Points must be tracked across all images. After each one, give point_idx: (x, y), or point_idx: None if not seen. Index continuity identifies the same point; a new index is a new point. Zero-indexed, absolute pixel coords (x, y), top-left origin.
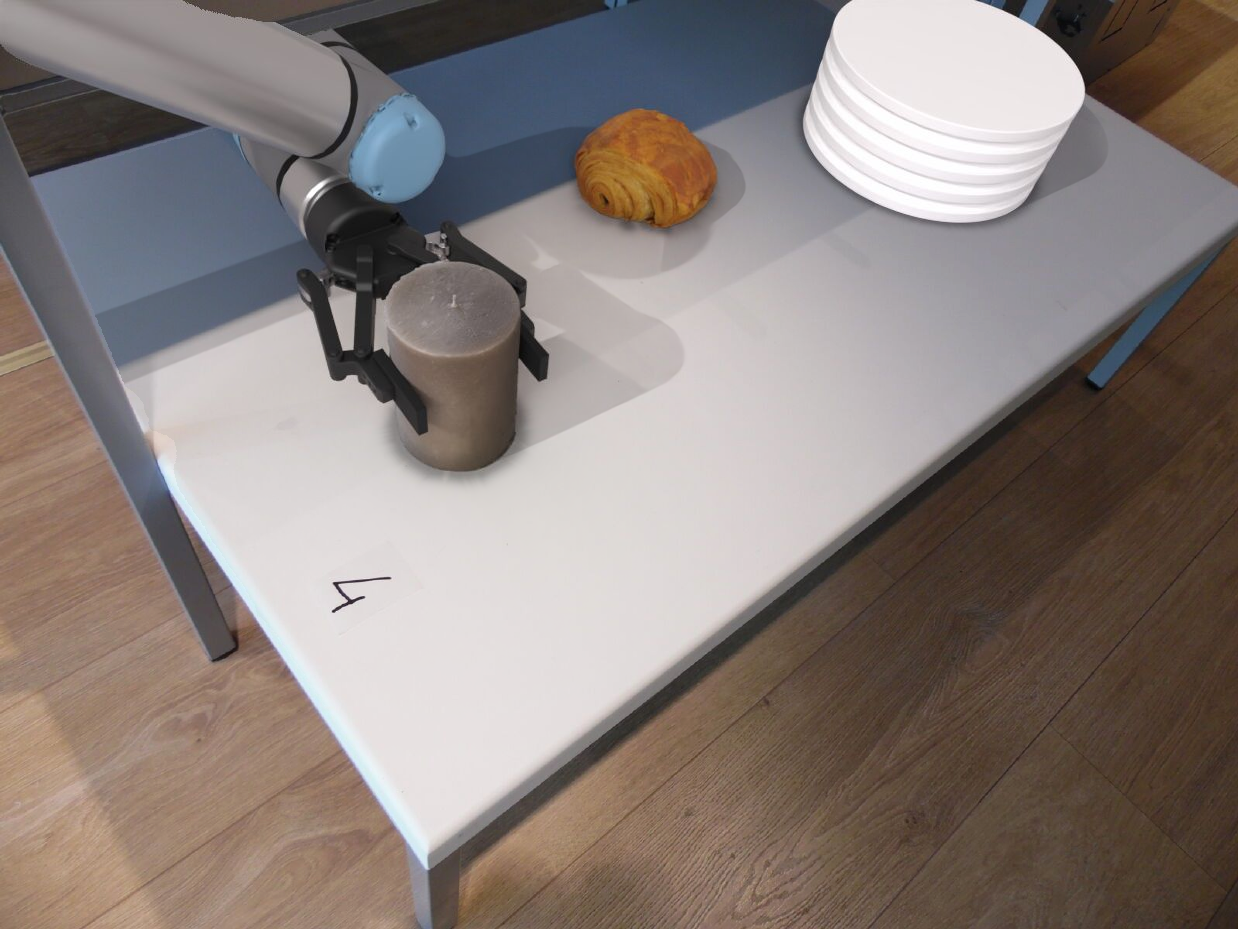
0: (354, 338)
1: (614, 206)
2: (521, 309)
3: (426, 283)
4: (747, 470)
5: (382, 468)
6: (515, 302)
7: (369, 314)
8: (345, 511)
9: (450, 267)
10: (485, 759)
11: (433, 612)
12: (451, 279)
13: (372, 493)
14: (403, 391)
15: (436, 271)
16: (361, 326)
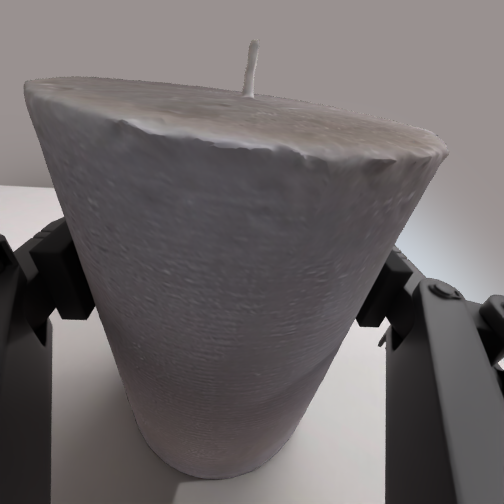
0: (474, 327)
1: None
2: (18, 248)
3: (288, 116)
4: (51, 220)
5: (335, 362)
6: (118, 79)
7: (447, 398)
8: (380, 334)
9: (138, 104)
10: None
11: None
12: (191, 99)
13: (350, 339)
14: None
15: (213, 116)
16: (464, 358)
